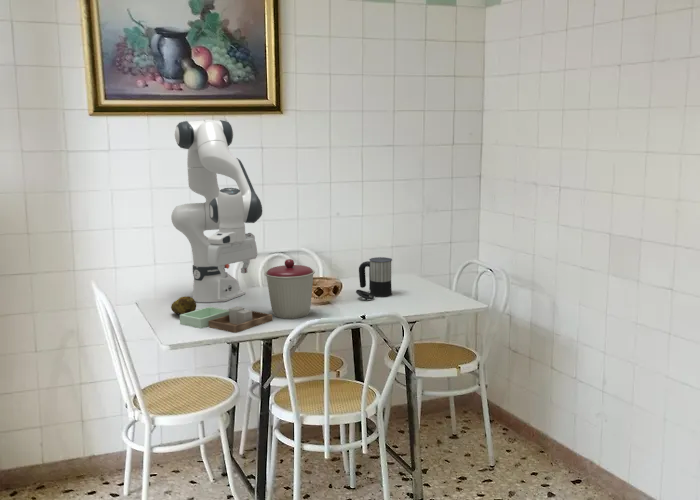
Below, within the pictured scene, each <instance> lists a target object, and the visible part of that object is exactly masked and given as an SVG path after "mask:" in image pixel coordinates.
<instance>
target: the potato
mask: <svg viewBox="0 0 700 500" xmlns="http://www.w3.org/2000/svg"><path fill="white" fill-rule="evenodd" d="M170 308H171V311H172V313H174V314H177V315H179V316H180V315H181V314H185V313H188V312H192V311H196V310H197V302H195V300H194V299H193V298H192V297H191V296H189V295H188V296H181V297H179V298H177V299H176V300H175V301H173V302H172V303H171V305H170Z"/></svg>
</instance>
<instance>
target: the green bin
mask: <svg viewBox="0 0 700 500" xmlns="http://www.w3.org/2000/svg"><path fill="white" fill-rule="evenodd" d="M227 315H229V309H223V308H218V307H215V306H207V307H203V308H200V309H196V310H195V311H192V312H188V313H185V314H181V315H180V314H179V324H180V325H184V326H187V327H193V328H197V329H204V328H207V327H208V328H209V322H208V321H210V320H213V319H217V318H220V317H223V316H227Z"/></svg>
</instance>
